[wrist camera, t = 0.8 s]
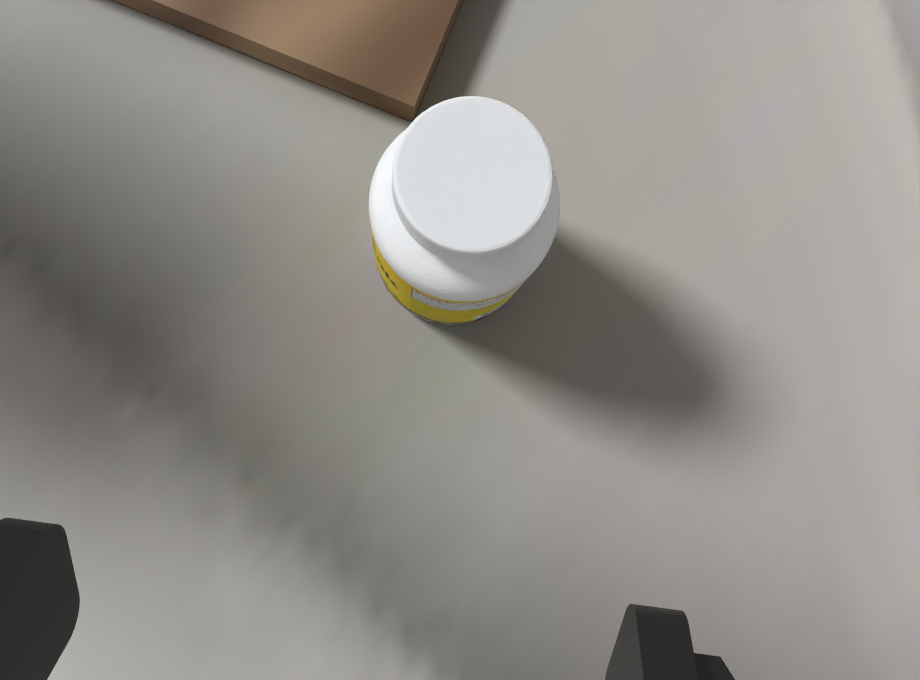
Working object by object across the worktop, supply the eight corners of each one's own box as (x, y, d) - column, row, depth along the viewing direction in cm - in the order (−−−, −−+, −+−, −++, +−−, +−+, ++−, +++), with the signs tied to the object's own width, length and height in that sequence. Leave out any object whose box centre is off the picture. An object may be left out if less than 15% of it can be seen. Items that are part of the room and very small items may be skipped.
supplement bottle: (382, 171, 30) (377, 51, 20) (530, 189, 30) (594, 79, 21) (366, 319, 30) (352, 268, 20) (517, 335, 30) (577, 292, 20)
